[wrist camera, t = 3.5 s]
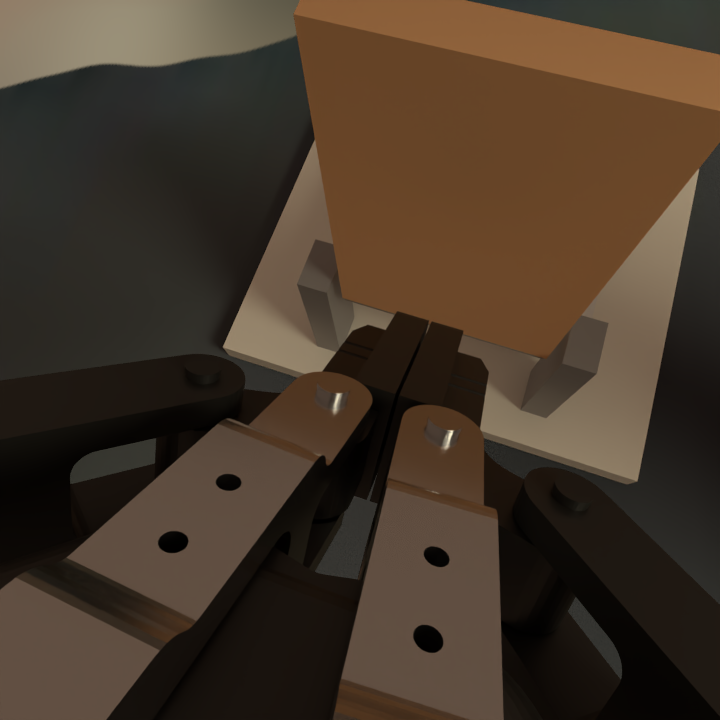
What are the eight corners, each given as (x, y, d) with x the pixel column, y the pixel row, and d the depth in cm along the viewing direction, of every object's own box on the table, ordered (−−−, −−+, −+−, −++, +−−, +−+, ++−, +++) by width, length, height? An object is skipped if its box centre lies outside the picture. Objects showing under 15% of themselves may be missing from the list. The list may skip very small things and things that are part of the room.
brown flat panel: (549, 336, 22) (750, 61, 10) (542, 364, 22) (741, 115, 10) (353, 278, 24) (315, -32, 11) (343, 304, 23) (293, 13, 11)
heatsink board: (687, 183, 32) (782, 65, 24) (626, 484, 27) (721, 455, 19) (341, 98, 35) (328, -32, 27) (229, 355, 30) (174, 285, 22)
